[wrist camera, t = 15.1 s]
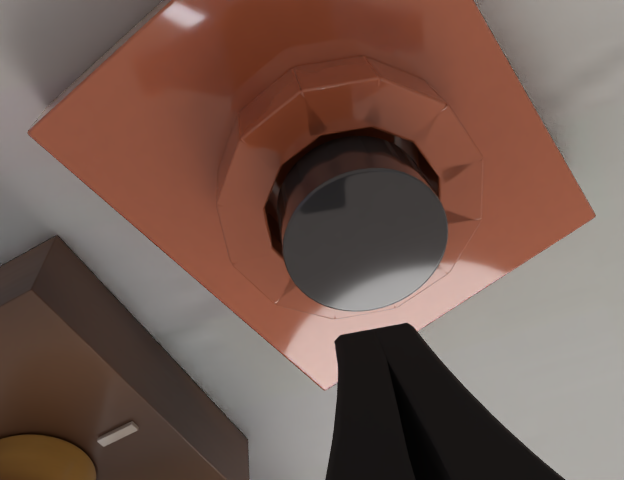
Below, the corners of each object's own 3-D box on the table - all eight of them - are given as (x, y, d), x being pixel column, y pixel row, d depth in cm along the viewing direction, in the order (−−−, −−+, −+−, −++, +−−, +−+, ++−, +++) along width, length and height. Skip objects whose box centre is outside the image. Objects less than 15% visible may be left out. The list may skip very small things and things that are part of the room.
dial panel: (-177, 364, 21) (-238, 437, 18) (57, 234, 19) (29, 292, 16) (57, 527, 27) (38, 600, 24) (248, 439, 25) (250, 506, 22)
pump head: (244, 199, 15) (247, 240, 13) (370, 102, 14) (390, 133, 13) (335, 291, 17) (348, 338, 15) (452, 211, 16) (478, 251, 14)
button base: (45, 107, 17) (-1, 165, 14) (353, -175, 14) (393, -191, 11) (317, 354, 23) (333, 436, 20) (567, 188, 20) (634, 250, 17)
